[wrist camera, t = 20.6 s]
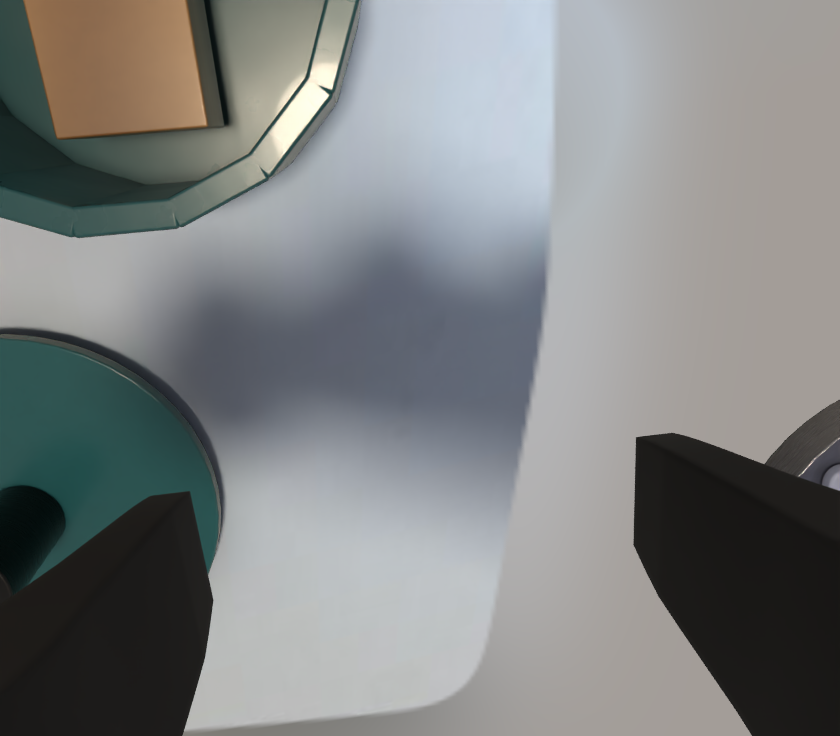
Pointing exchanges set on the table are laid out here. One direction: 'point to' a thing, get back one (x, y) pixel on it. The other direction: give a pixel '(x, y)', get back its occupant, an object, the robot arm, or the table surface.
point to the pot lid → (85, 455)
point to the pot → (182, 150)
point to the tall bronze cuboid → (125, 66)
